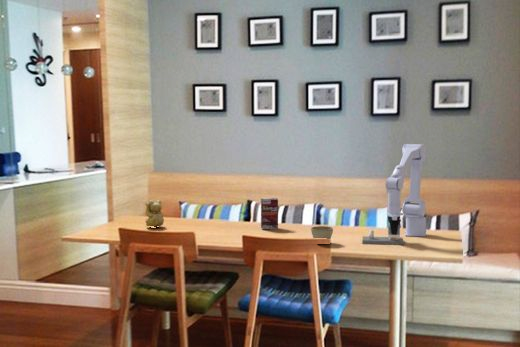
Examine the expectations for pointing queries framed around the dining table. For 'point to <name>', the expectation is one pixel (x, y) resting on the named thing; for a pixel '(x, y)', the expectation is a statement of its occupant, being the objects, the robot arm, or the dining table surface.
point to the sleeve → (391, 233)
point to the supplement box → (269, 213)
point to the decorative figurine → (154, 213)
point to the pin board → (381, 239)
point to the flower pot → (322, 232)
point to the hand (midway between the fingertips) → (393, 233)
